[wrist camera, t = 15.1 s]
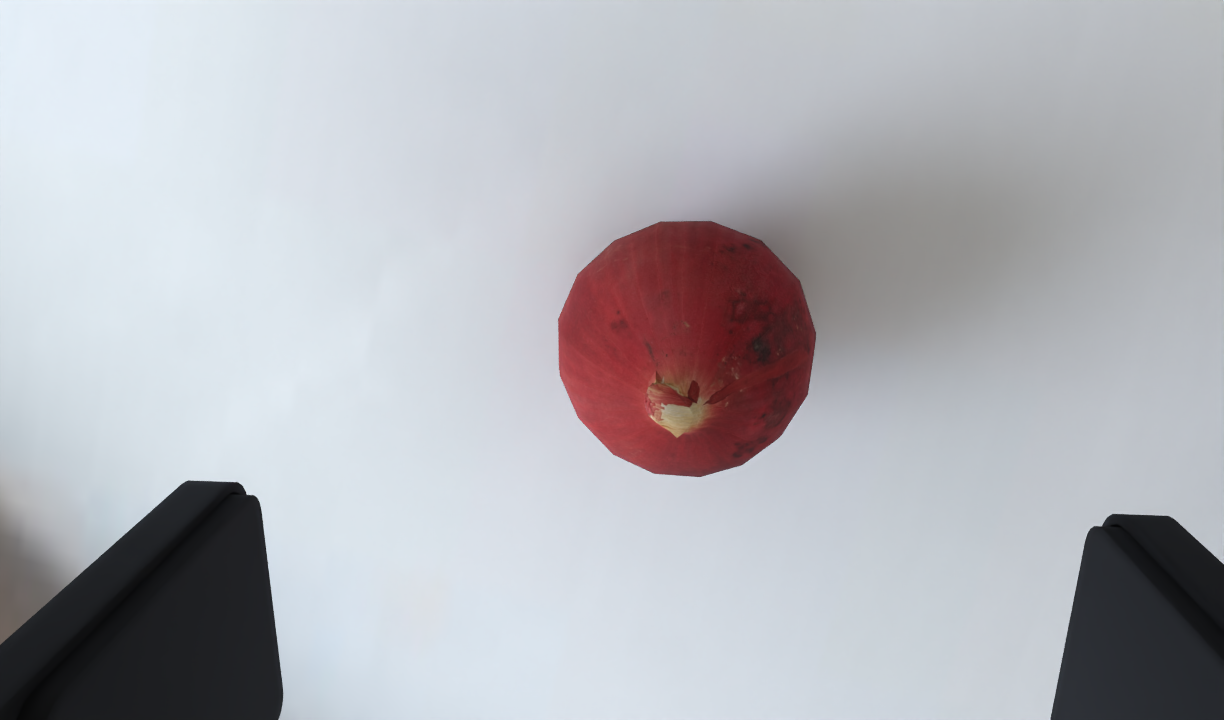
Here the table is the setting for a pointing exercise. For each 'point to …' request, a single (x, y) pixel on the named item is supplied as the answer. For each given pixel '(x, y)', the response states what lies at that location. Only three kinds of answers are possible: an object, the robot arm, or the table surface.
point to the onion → (686, 347)
